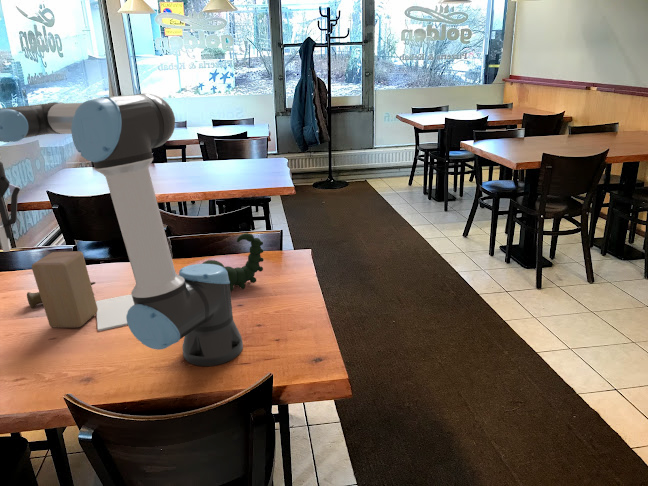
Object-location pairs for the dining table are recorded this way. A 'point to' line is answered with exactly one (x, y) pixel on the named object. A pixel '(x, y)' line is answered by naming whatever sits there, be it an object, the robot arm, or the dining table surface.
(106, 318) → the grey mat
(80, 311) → the wooden block
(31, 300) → the kendama
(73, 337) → the dining table surface
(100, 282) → the dining table surface
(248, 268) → the toy figurine
